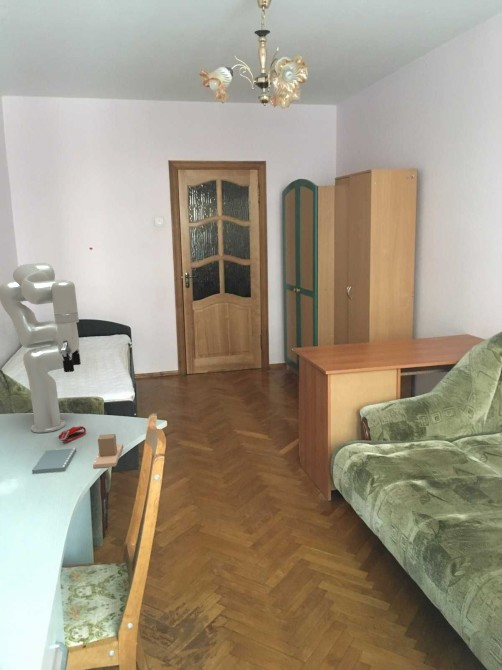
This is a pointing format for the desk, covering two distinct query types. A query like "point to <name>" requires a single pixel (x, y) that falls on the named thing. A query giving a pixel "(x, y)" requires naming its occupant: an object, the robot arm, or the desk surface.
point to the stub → (107, 451)
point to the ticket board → (54, 461)
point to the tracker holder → (71, 431)
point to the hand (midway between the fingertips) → (72, 368)
